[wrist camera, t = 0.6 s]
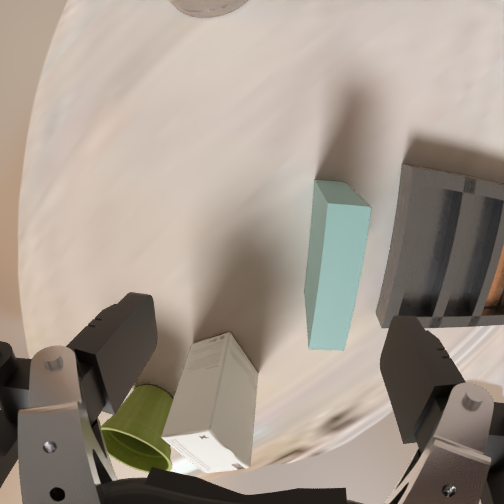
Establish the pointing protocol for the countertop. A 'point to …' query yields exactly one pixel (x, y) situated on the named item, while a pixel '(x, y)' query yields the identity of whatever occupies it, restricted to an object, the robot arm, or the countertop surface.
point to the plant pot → (140, 430)
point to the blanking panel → (334, 262)
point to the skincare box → (214, 406)
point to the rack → (445, 251)
